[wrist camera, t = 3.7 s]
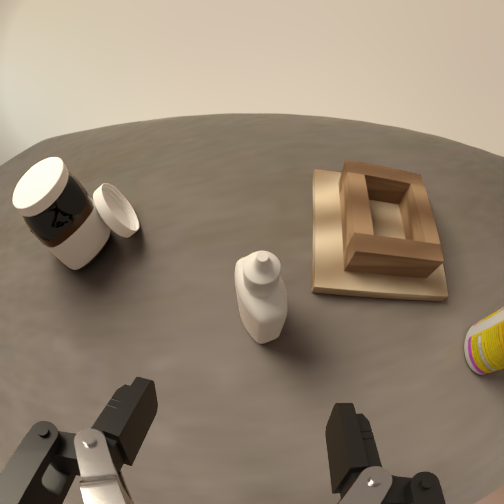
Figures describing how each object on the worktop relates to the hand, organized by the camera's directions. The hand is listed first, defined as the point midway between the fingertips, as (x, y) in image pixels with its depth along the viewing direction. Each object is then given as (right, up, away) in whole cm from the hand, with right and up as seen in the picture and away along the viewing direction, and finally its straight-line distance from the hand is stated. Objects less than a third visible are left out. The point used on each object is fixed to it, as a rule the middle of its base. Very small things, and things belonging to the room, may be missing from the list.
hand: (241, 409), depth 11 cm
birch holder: (+15, +9, +21) cm, 27 cm away
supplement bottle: (+28, -5, +13) cm, 31 cm away
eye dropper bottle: (+1, 0, +16) cm, 16 cm away
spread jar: (-19, +9, +21) cm, 30 cm away
